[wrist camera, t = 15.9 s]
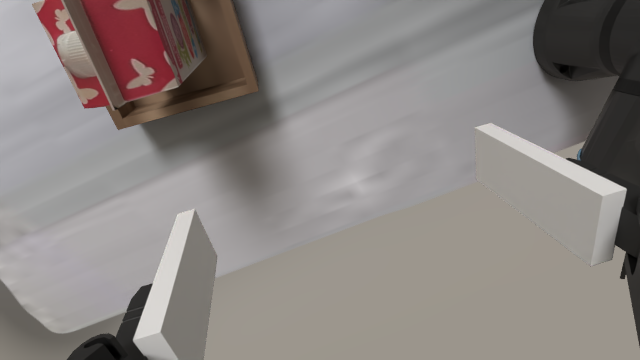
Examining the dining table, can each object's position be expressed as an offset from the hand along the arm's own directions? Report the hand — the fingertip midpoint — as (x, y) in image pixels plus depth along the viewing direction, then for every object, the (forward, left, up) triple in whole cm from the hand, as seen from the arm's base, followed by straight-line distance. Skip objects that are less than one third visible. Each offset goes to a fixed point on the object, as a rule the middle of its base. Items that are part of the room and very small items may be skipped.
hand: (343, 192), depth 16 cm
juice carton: (+11, -8, -32) cm, 35 cm away
